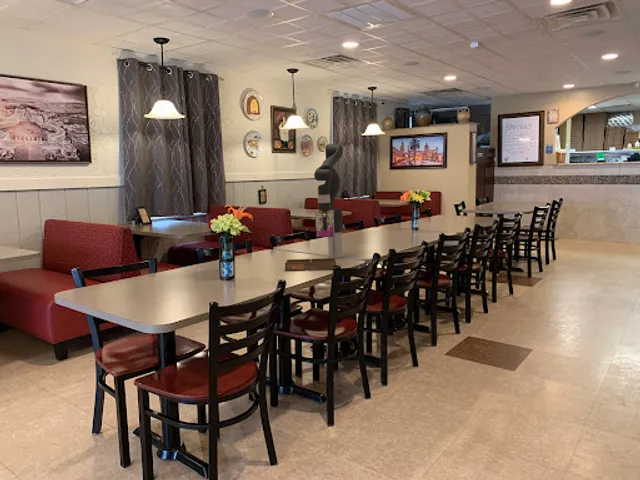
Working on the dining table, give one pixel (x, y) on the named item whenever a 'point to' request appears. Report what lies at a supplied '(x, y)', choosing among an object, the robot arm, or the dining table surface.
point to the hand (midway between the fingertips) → (325, 229)
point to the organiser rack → (310, 264)
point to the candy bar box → (319, 224)
